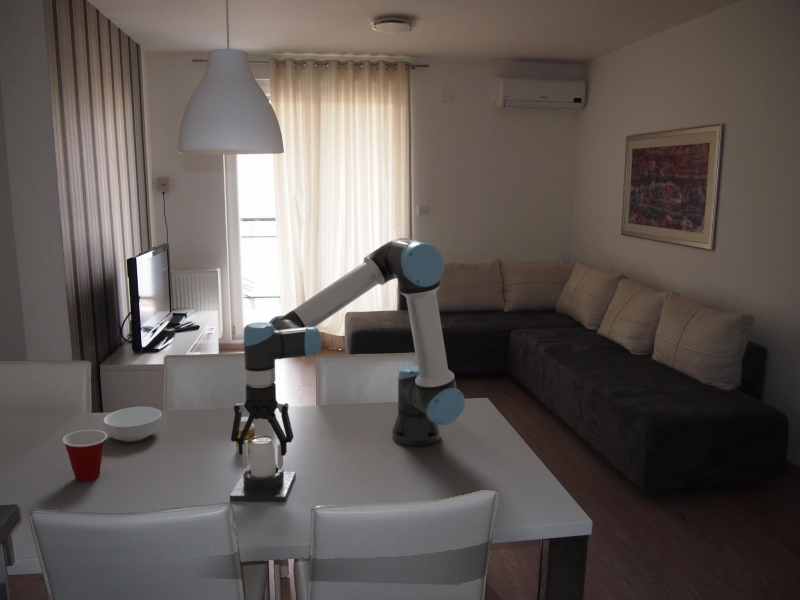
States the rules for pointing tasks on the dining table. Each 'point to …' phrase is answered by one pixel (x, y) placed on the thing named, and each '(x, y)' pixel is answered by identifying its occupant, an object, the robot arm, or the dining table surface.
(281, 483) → the socket
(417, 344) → the robot arm
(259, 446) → the can
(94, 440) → the plastic cup
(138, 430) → the cereal bowl
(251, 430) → the supplement bottle
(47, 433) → the dining table surface
